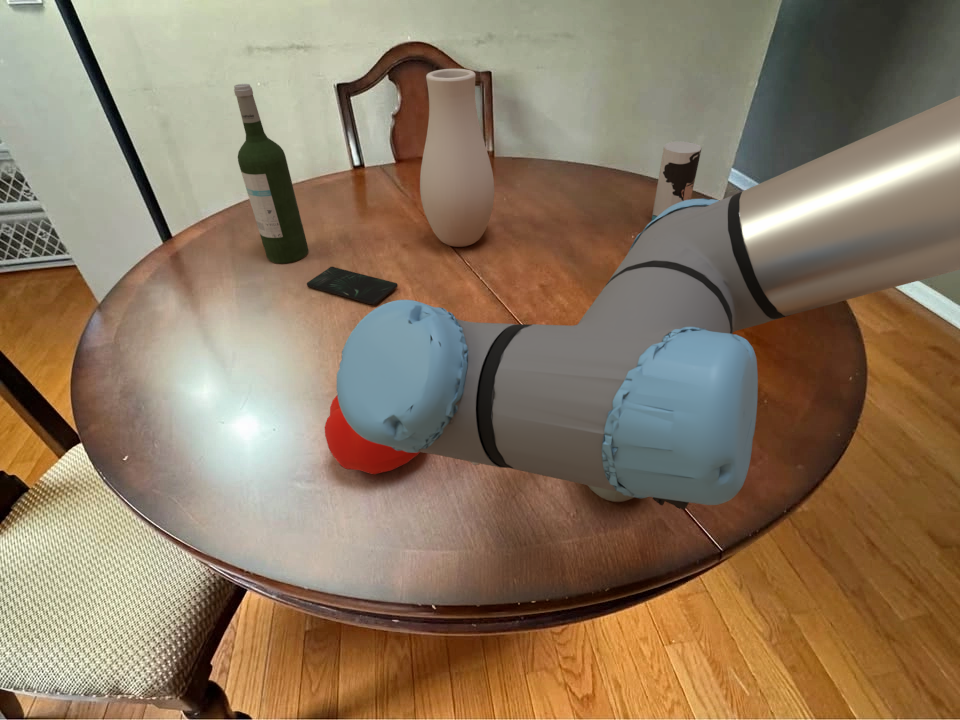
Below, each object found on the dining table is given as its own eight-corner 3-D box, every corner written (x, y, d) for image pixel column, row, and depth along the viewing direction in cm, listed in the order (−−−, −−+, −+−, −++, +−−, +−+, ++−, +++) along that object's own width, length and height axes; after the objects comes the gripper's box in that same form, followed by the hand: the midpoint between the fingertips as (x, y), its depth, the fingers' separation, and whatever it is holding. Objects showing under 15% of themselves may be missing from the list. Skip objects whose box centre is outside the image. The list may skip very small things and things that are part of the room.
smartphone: (331, 265, 101) (398, 282, 95) (332, 270, 102) (399, 287, 96) (305, 283, 97) (373, 302, 91) (306, 288, 97) (374, 307, 91)
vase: (418, 255, 105) (398, 82, 87) (434, 224, 116) (420, 64, 97) (489, 259, 103) (485, 83, 85) (499, 227, 114) (497, 64, 95)
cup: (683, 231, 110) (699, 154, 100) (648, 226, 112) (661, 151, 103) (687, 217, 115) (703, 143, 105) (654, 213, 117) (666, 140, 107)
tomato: (414, 499, 61) (405, 445, 56) (313, 477, 64) (295, 424, 58) (450, 419, 70) (445, 367, 65) (360, 403, 73) (349, 352, 68)
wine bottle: (314, 245, 110) (275, 79, 91) (300, 264, 104) (255, 91, 85) (276, 244, 111) (229, 80, 92) (260, 264, 105) (206, 91, 86)
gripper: (388, 381, 47) (508, 417, 64) (652, 569, 33) (713, 549, 50) (430, 303, 46) (539, 360, 64) (715, 458, 32) (754, 477, 50)
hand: (616, 444), depth 57 cm, fingers open, 13 cm apart
